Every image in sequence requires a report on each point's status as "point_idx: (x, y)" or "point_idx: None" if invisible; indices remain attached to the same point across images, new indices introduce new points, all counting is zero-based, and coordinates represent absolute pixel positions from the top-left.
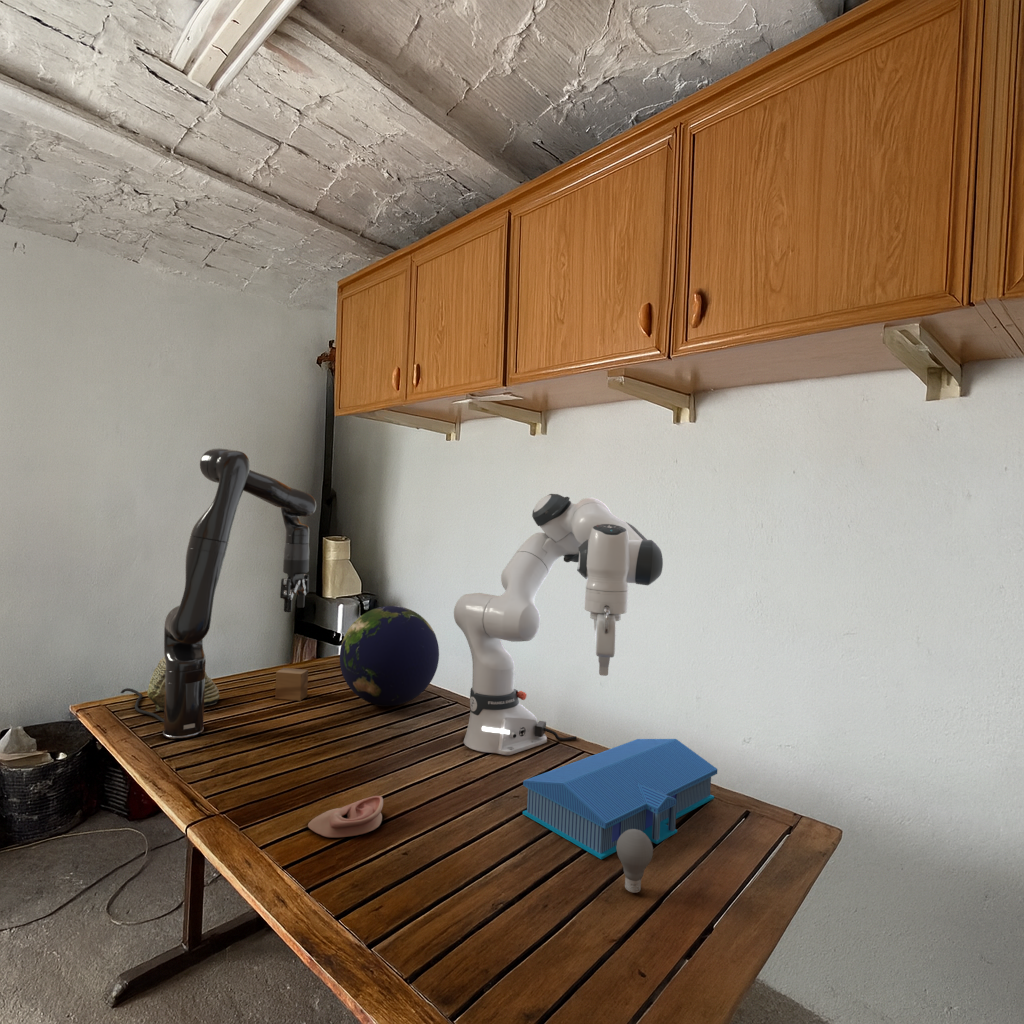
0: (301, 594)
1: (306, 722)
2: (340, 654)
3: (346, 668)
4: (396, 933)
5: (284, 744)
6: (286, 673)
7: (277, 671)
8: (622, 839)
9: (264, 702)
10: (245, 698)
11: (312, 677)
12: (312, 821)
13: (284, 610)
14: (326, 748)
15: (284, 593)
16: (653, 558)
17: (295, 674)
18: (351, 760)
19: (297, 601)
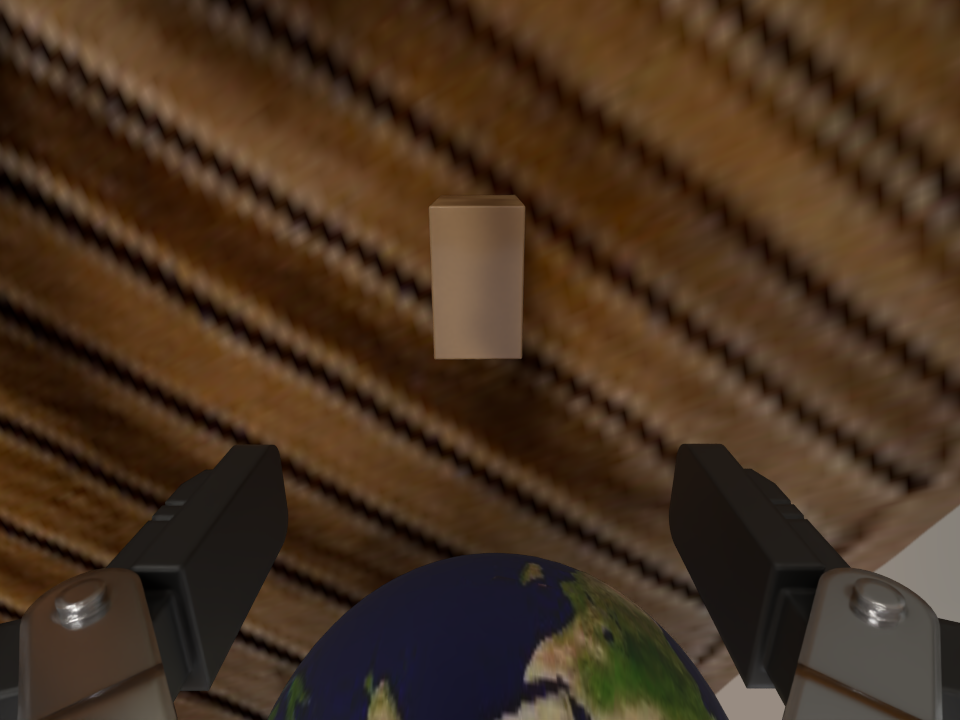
0: (787, 675)
1: (224, 443)
2: (353, 670)
3: (296, 674)
4: None
5: (21, 461)
6: (431, 272)
7: (440, 209)
8: None
9: (377, 173)
10: (403, 43)
11: (817, 210)
12: None
13: (234, 455)
14: (59, 578)
15: (19, 698)
16: None
17: (433, 324)
18: None
19: (716, 500)
